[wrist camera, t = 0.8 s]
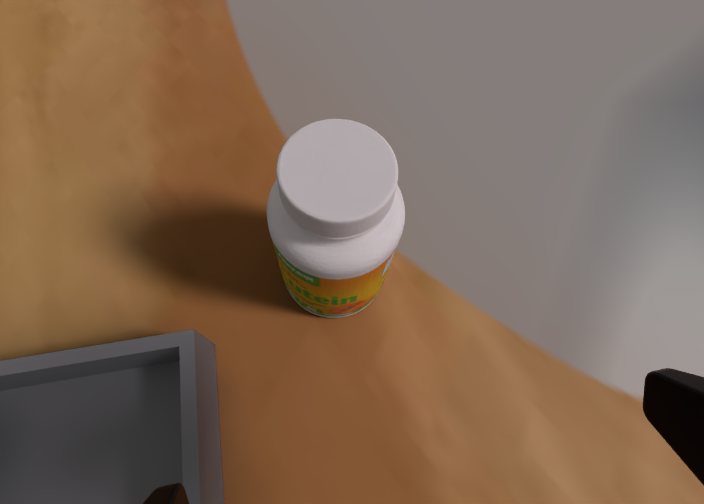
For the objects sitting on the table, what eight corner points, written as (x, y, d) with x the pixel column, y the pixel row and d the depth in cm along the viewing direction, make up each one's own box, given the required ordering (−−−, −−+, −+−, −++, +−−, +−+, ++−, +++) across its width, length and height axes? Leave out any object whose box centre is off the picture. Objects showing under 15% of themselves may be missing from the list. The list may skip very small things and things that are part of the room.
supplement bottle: (269, 304, 22) (226, 217, 13) (301, 214, 24) (284, 85, 15) (370, 332, 21) (401, 263, 12) (393, 239, 23) (434, 122, 14)
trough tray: (229, 596, 17) (206, 637, 14) (-49, 662, 16) (-146, 723, 12) (215, 344, 21) (193, 329, 17) (-10, 382, 19) (-77, 373, 16)
